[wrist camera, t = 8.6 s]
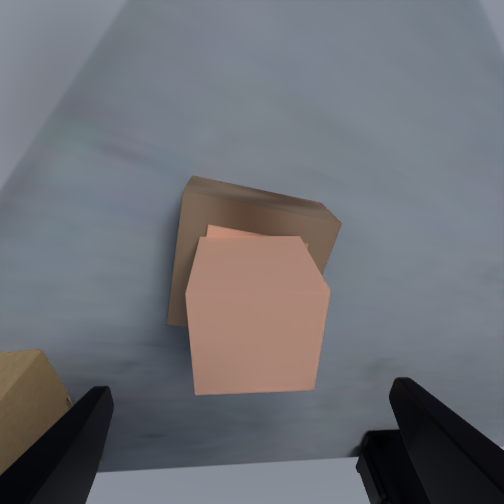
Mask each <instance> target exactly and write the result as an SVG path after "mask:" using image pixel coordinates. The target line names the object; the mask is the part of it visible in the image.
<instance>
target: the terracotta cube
mask: <svg viewBox="0 0 504 504" xmlns="http://www.w3.org/2000/svg"><path fill="white" fill-rule="evenodd" d="M330 292H331V291H330V289H329V288H328V286H327V284H326V282H325V280H324V279H323V277H322V275H321V273H320V271H319V270H318V268H317V266H316V264H315V262H314V261H313V259H312V257H311V255H310V254H309V252H308V250H307V248H306V246H305V245H304V243H303V241H302V239H301V237H300V236H237V237H200V239H199V243H198V247H197V251H196V254H195V258H194V262H193V266H192V270H191V274H190V278H189V282H188V286H187V289H186V293H185V296H186V306H187V316H188V327H189V337H190V347H191V357H192V368H193V378H194V388H195V395H212V394H235V393H258V392H282V391H305V390H314V388H315V382H316V376H317V370H318V364H319V358H320V352H321V346H322V340H323V334H324V328H325V322H326V316H327V310H328V304H329V298H330Z"/></svg>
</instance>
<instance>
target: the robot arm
mask: <svg viewBox="0 0 504 504" xmlns="http://www.w3.org/2000/svg"><path fill="white" fill-rule="evenodd" d="M389 400H390V404H391V407H392V409H393V412H394V415H395V418H396V421H397V424H398V426H399V429H400V430H395V431H372V432H369V433H368V434H367V436H366V438H365V441H364V444H363V447H362V450H361V453H360V456H359V459H358V462H357V464H356V470H357V472H358V473H360V475H361V478H362V481H363V484H364V487H365V490H366V492H367V495H368V498H369V501H370V503H371V504H504V450H503V449H501V448H500V447H499V446H498V445H496V444H495V443H494V442H492V441H491V440H490V439H488V438H487V437H486V436H485V435H483V434H482V433H481V432H479V431H478V430H477V429H475V428H474V427H473V426H472V425H470V424H469V423H468V422H466V421H465V420H464V419H463V418H461V417H460V416H459V415H457V414H456V413H455V412H453V411H452V410H451V409H450V408H448V407H447V406H446V405H444V404H443V403H442V402H441V401H439V400H438V399H437V398H435V397H434V396H433V395H431V394H430V393H429V392H428V391H426V390H425V389H424V388H422V387H421V386H420V385H419V384H417V383H416V382H415V381H413V380H412V379H410V378H408V377H397V378H396V379H395V380H394V382H393V385H392V388H391V390H390V393H389ZM113 409H114V403H113V399H112V395H111V391H110V388H109V387H108V386H95V387H93V388H91V389H90V390H89V391H88V392H87V393H86V394H85V395H84V396H83V397H82V398H81V399H80V400H79V401H78V402H77V403H76V404H74V405H73V406H72V407H71V408H70V409H69V410H68V411H67V412H66V413H65V414H64V415H63V416H62V417H61V418H60V419H59V420H58V421H57V422H56V423H55V424H53V425H52V426H51V427H50V428H49V429H48V430H47V431H46V432H45V433H44V434H43V435H42V436H41V437H40V438H39V439H38V440H37V441H36V442H35V443H34V444H32V445H31V446H30V447H29V448H28V449H27V450H26V451H25V452H24V453H23V454H22V455H21V456H20V457H19V458H18V459H17V460H16V461H15V462H14V463H13V464H11V465H10V466H9V467H8V468H7V469H6V470H5V471H4V472H3V473H2V474H1V475H0V504H85V503H86V500H87V497H88V495H89V492H90V489H91V487H92V484H93V481H94V479H95V475H96V473H97V470H98V467H99V463H100V459H101V456H102V452H103V448H104V444H105V441H106V437H107V433H108V429H109V425H110V421H111V418H112V414H113Z"/></svg>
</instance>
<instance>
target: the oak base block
mask: <svg viewBox="0 0 504 504" xmlns="http://www.w3.org/2000/svg"><path fill="white" fill-rule="evenodd" d="M341 224H342V223H341V222H340V221H339V220H338V219H337V218H336V217H335V216H334V215H333V214H332V213H331V212H330V211H329V210H328V209H327V208H326V207H325V206H324V205H323V204H322V203H319V202H315V201H310V200H305V199H301V198H296V197H291V196H286V195H282V194H277V193H272V192H268V191H263V190H258V189H253V188H249V187H244V186H239V185H235V184H230V183H225V182H221V181H216V180H211V179H206V178H202V177H197V176H192V177H191V179H190V181H189V182H188V184H187V186H186V187H185V189H184V190H183V196H182V204H181V212H180V220H179V228H178V236H177V244H176V252H175V260H174V268H173V276H172V284H171V292H170V300H169V308H168V316H167V324H166V325H172V326H180V327H187V328H189V327H188V316H187V306H186V296H185V293H186V289H187V286H188V282H189V278H190V274H191V270H192V266H193V262H194V258H195V254H196V251H197V247H198V243H199V239H200V237H237V236H300V237H301V239H302V241H303V243H304V245H305V246H306V248H307V250H308V252H309V254H310V255H311V257H312V259H313V261H314V262H315V264H316V266H317V268H318V270H319V271H320V273H321V275H322V274H323V272H324V269H325V266H326V264H327V261H328V258H329V256H330V253H331V251H332V248H333V245H334V243H335V240H336V237H337V235H338V232H339V230H340V227H341Z"/></svg>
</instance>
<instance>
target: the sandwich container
mask: <svg viewBox="0 0 504 504" xmlns="http://www.w3.org/2000/svg"><path fill="white" fill-rule="evenodd" d="M67 398H68V399H67ZM69 401H70V402H69ZM70 403H71V404H70ZM73 405H74V404H73V402H72V400H71V399H70V397H69V395H68V392H67V391H66V389H65V387H64V386H63V384H62V382H61V381H60V379H59V377H58V376H57V374H56V372H55V371H54V369H53V367H52V366H51V364H50V362H49V361H48V359H47V357H46V356H45V354H44V352H43V350H41V349H36V350H26V351H17V352H7V353H0V475H1V474H2V473H3V472H4V471H5V470H6V469H7V468H8V467H9V466H10V465H11V464H13V463H14V462H15V461H16V460H17V459H18V458H19V457H20V456H21V455H22V454H23V453H24V452H25V451H26V450H27V449H28V448H29V447H30V446H31V445H32V444H34V443H35V442H36V441H37V440H38V439H39V438H40V437H41V436H42V435H43V434H44V433H45V432H46V431H47V430H48V429H49V428H50V427H51V426H52V425H53V424H55V423H56V422H57V421H58V420H59V419H60V418H61V417H62V416H63V415H64V414H65V413H66V412H67V411H68V410H69V409H70V408H71V407H72V406H73ZM102 463H103V462H102V460H101V459H100V463H99V465H100V464H102Z"/></svg>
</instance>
